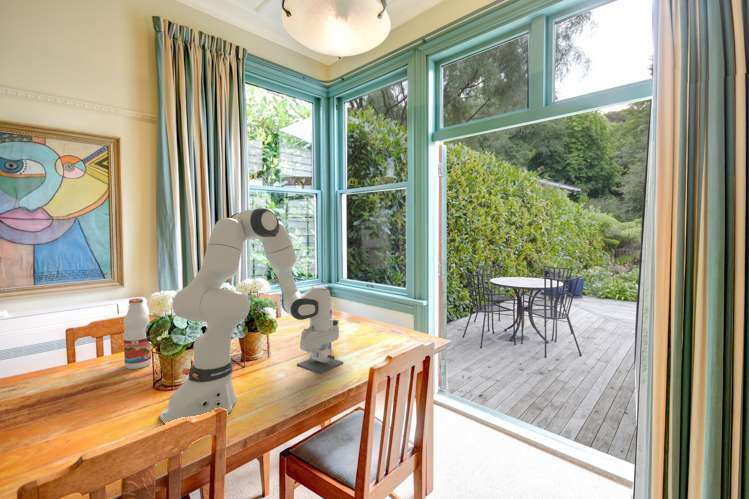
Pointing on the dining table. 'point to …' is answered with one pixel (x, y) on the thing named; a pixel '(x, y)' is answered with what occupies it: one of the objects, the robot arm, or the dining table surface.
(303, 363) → the mat
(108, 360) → the dining table surface
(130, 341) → the fruit juice
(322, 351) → the plug
